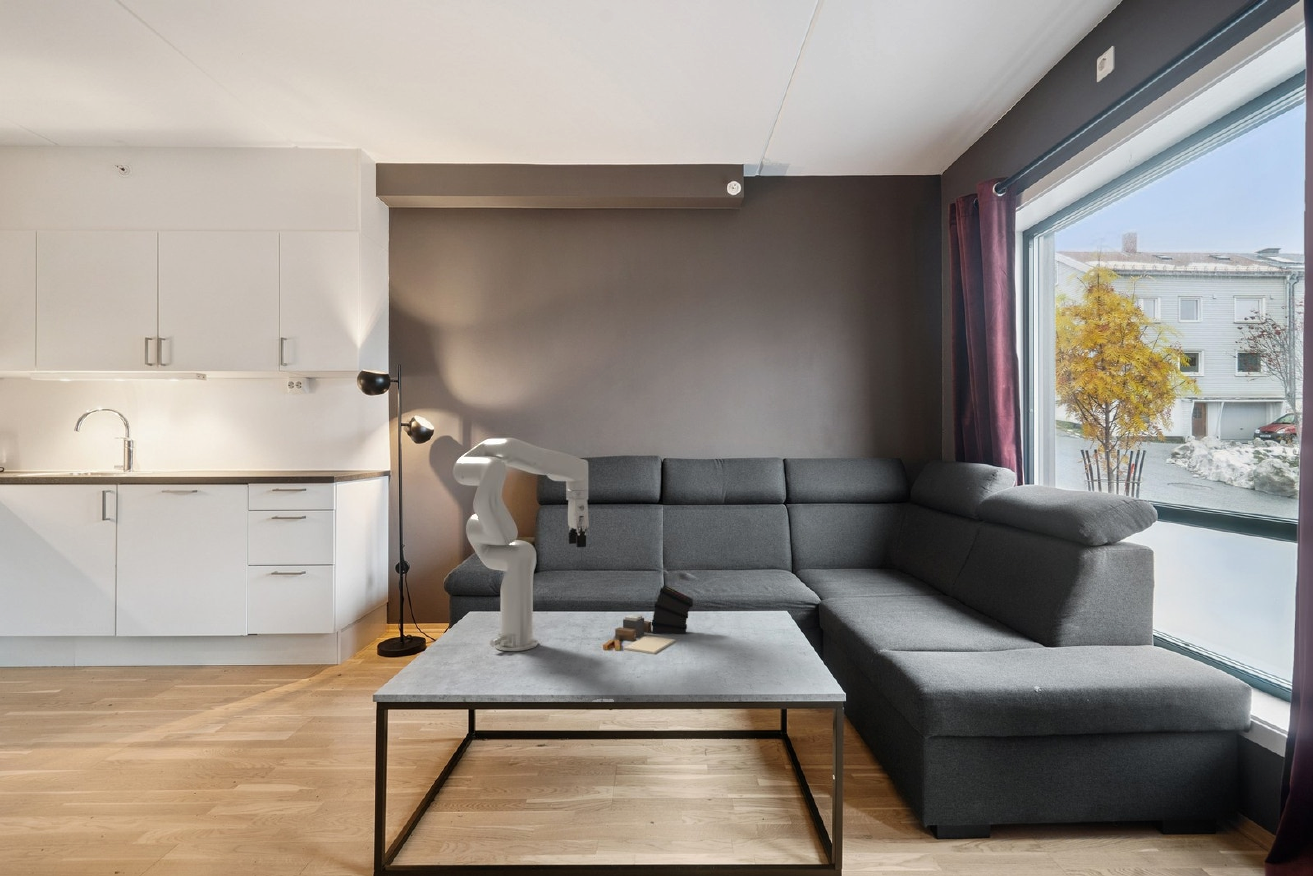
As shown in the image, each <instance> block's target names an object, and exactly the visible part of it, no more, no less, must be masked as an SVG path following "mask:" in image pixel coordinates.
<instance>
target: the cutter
mask: <svg viewBox="0 0 1313 876" xmlns="http://www.w3.org/2000/svg"><path fill="white" fill-rule="evenodd" d="M620 641H622V640H621V636H615V635H614V636H613V638H612V639H611V638H610V640H608V641H607V642H605V643H604V644H602V650H603V651H608V650H610V649H611V648H612V647H614V651H621V649H620V648H621V647H620V645H621V644H620Z"/></svg>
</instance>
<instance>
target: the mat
mask: <svg viewBox="0 0 1313 876" xmlns="http://www.w3.org/2000/svg"><path fill="white" fill-rule="evenodd" d="M675 642H676V639H673V638H667V637H666V638H665V637H658V636H653V635H645V636H642V637H641V638H639V639H636V641H635V640H634V641H632V642H631V643H630V644H628V645H626V646H624V647H623V651H624V650H625V651H631V652H636V653H637V652H638V653H645V654H651V655H655V654H657V653H658V652H660V651H662V650H663V649H665V648H667V647H668V646H670V645H672V644H673V643H675Z"/></svg>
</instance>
